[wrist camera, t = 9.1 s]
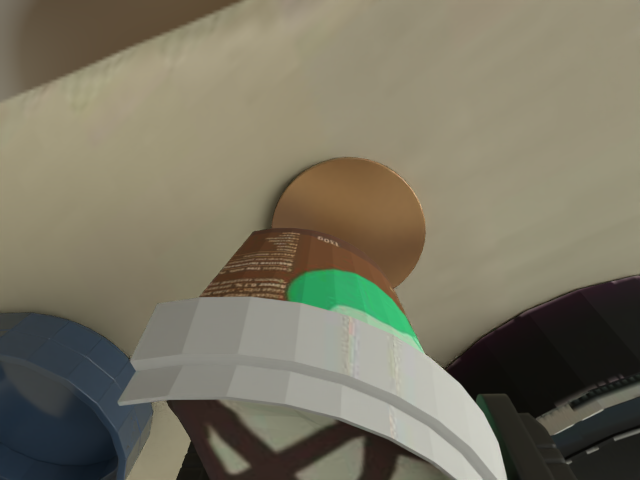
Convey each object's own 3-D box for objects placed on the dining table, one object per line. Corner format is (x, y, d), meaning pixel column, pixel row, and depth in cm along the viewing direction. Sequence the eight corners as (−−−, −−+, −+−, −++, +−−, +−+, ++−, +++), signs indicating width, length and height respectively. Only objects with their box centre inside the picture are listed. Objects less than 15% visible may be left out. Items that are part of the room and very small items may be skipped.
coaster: (264, 161, 25) (263, 162, 24) (427, 153, 24) (429, 154, 24) (279, 301, 28) (278, 305, 28) (420, 296, 28) (422, 301, 27)
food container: (447, 410, 19) (564, 730, 9) (321, 432, 19) (315, 751, 10) (400, 155, 14) (529, 286, 5) (240, 196, 15) (101, 375, 6)
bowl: (-82, 311, 30) (-160, 354, 25) (130, 304, 29) (91, 347, 24) (-6, 467, 35) (-57, 525, 31) (172, 465, 35) (147, 525, 30)
